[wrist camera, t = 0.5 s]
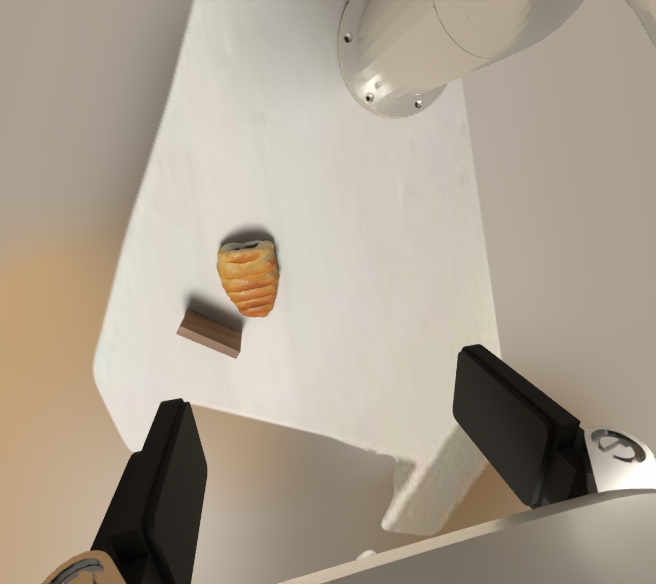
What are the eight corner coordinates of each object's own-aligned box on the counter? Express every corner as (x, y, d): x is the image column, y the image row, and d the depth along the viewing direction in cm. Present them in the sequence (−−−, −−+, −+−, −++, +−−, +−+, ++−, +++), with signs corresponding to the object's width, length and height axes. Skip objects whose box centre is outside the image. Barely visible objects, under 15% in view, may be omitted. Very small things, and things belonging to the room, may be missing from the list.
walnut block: (188, 309, 38) (180, 326, 34) (241, 333, 41) (240, 351, 37) (184, 315, 39) (176, 333, 35) (237, 339, 41) (235, 358, 37)
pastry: (285, 307, 41) (287, 320, 38) (232, 317, 40) (229, 331, 37) (272, 235, 38) (273, 242, 34) (212, 244, 37) (208, 252, 33)
